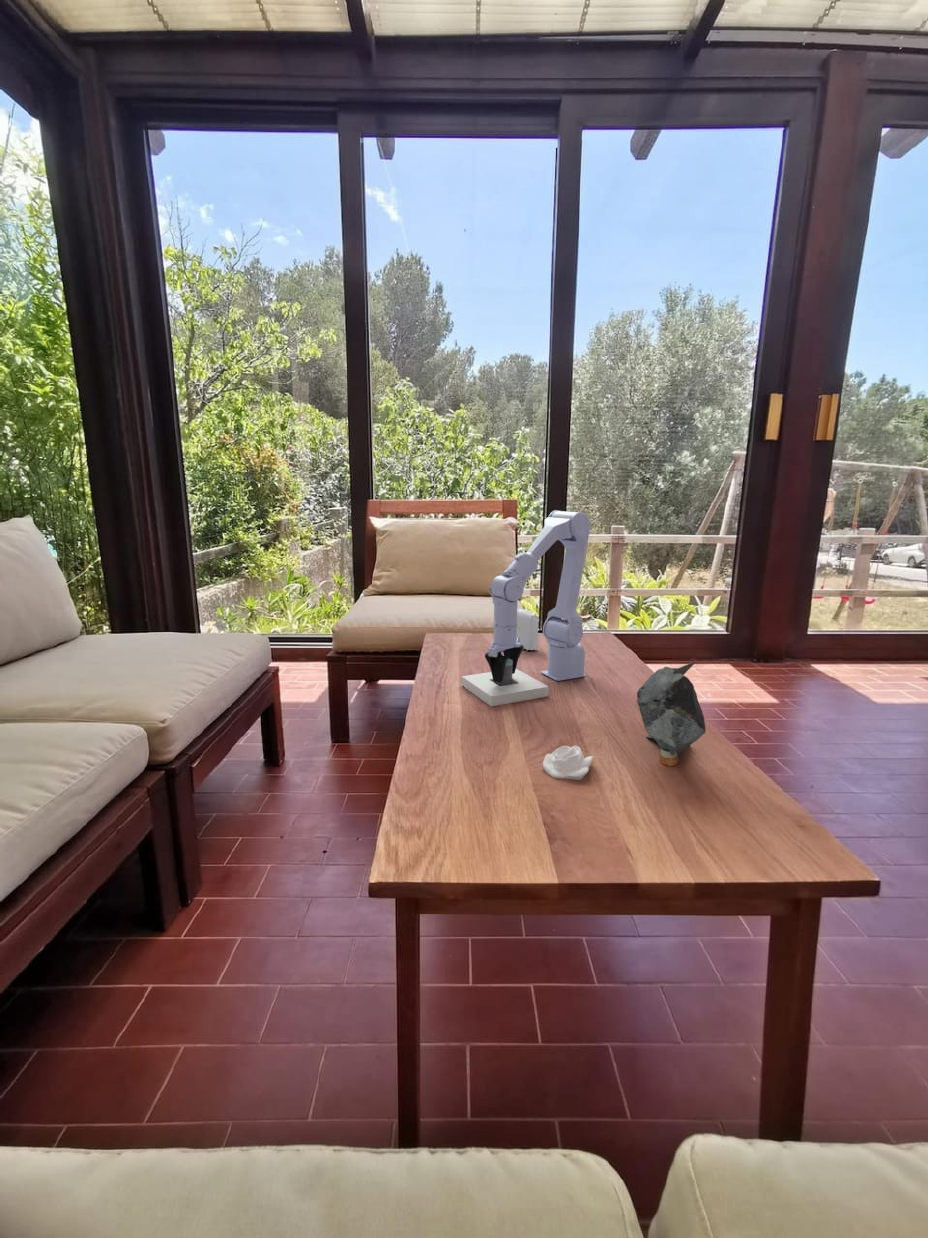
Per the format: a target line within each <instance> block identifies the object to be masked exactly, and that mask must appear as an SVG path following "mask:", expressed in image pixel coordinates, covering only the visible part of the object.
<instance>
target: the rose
mask: <svg viewBox="0 0 928 1238" xmlns="http://www.w3.org/2000/svg"><path fill="white" fill-rule="evenodd" d="M594 759H595V757H594V756H593V755H590V756H586V757H585V756H584V752H583V751H582V749H581V747H580V746H578V745H573V746H571V747H570V746H568V745H562V746H560V747H558V748H556V749H555V750H553V752H552V753H547V754H545V757H544V759H543V761H542V767H543V769H544V771H545V773H547V775H549V776H550V777H552V778H554V779H562V780H565V779H566V780H576V781H580V780H582V779H583V778H584V776H585V775H587V773H589V770H590V766H591V765H592V763H593V762H594Z"/></svg>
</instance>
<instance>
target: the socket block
mask: <svg viewBox="0 0 928 1238" xmlns="http://www.w3.org/2000/svg"><path fill="white" fill-rule="evenodd" d="M461 686H462V687H463V686H464V687H465V688H464V687H463V688H464V689H465V690H467V689H468V690H467V691H468V692H470V693H471V694H473V695H474V696H475V697H477V698H478V699H480V700H481V701H482V702H484V703H486V705H488V706H490V707H495V706H500V705H501V706H502V705H507V704H512V703H519V702H524V701H529V700H535V699H540V698H546V697H549V690H550V689H549V686H548V685H547V684H544V683H543V682H541V681H539V680H538V679H536V678H534V677H531V676H530V675H528V674H526V673H525V672H524V671H521V670H519V669H517V668H516V670H515V673H514V674H512V685H505V686H498V685H497V684H496V682H494V681H493V677H492V673H491V671H489V672H482V673H475V674H470V675H469V674H468V675H462V676H461Z"/></svg>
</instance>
